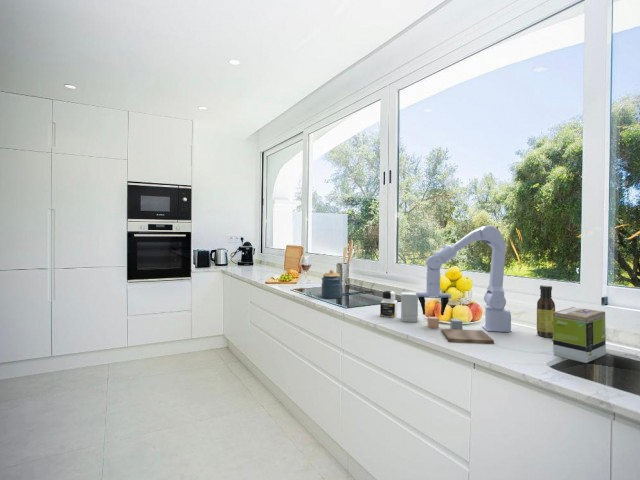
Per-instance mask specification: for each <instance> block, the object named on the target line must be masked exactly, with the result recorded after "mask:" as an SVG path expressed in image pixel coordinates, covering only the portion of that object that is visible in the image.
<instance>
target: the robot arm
mask: <svg viewBox="0 0 640 480" xmlns="http://www.w3.org/2000/svg"><path fill="white" fill-rule="evenodd" d="M477 241H478V242H479V241H482V242H484V243H486V244H487V245H488V246H489V247H490V248H491V249H492V250H491V259H490V271H489V284H488V286H487V288H486V292H485V294H484V296H483V300H484V302H485V303H486V305H485V307H484V309H485V310H484V311H485V313H484V315H485V316H484V317H485V318H484V321H485V322H484V324H485V325H482V326H481V327H482V328H483V329H485V330H486V331H487V332H499V333H500V332H504V333H512V331H513V330H512V312H511V311H510V309H508V308H505V307H506V304H507V299H506V298H505V290H504V286H503V285H504V276H505V275H504V273H505V265H506V264H505V263H506V250H507V244H506V241H505V240H504V238H503V236H502V233H501V230H499V229H498V228H497V227H495V225H481V226H479V227H478V228H476V229H474V230H471V231H470V232H469V233H468V234H466V235H465V236H463V237H462V238H460V240H458V241H457V242H454V243H453V244H452V245H450V244H447V245H443V246H442V248H441V249H440V250H438V251H437V252H433V255H430V256H428V257H427V259H426V261H425V265H426V267H427V268H426V289H425V290H426V292H415V293H416V298H418V302H419V303H420V307H421V311H422V315H423V316H425V315H426V299H425V298H427V299H440V315H441V316H444V315H445V310H446V308H447V305H448V303H449V301H450V299H451V298H452V294H451V293H448V292H447V293H446V292H444V293H443V292H441V267H442V265H444V264H446V263H447V262H448V261H450V260H452V259H453V258H455V257H456V256H457V253H458V251H460V250H462V249H463V248H465V247H467V246H469V245H470V244H471V243H473V242H477Z"/></svg>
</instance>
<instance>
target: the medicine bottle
mask: <svg viewBox="0 0 640 480" xmlns="http://www.w3.org/2000/svg"><path fill="white" fill-rule="evenodd" d="M379 304H380V310H379V311H380V312H379V313H380V314H379V315H380V317H383V316H384V317H383V318H385V317H386V318H396V317H397V315H398V300H397V299H396V292H395V291H393V290H384V291H383V292H382V301H380V303H379Z"/></svg>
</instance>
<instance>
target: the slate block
mask: <svg viewBox="0 0 640 480" xmlns="http://www.w3.org/2000/svg"><path fill="white" fill-rule="evenodd" d="M449 321H450V322H449V323H450V326H449V327H450V328H449V329H460V330H463V320H462V319H461V318H450V319H449Z"/></svg>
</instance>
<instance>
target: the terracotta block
mask: <svg viewBox="0 0 640 480" xmlns="http://www.w3.org/2000/svg"><path fill="white" fill-rule="evenodd" d="M439 321H440V319H439V317H438V316H427V327H428V328H429V329H431V328H432V329H439V328H440V327H439V326H440V322H439Z"/></svg>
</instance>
